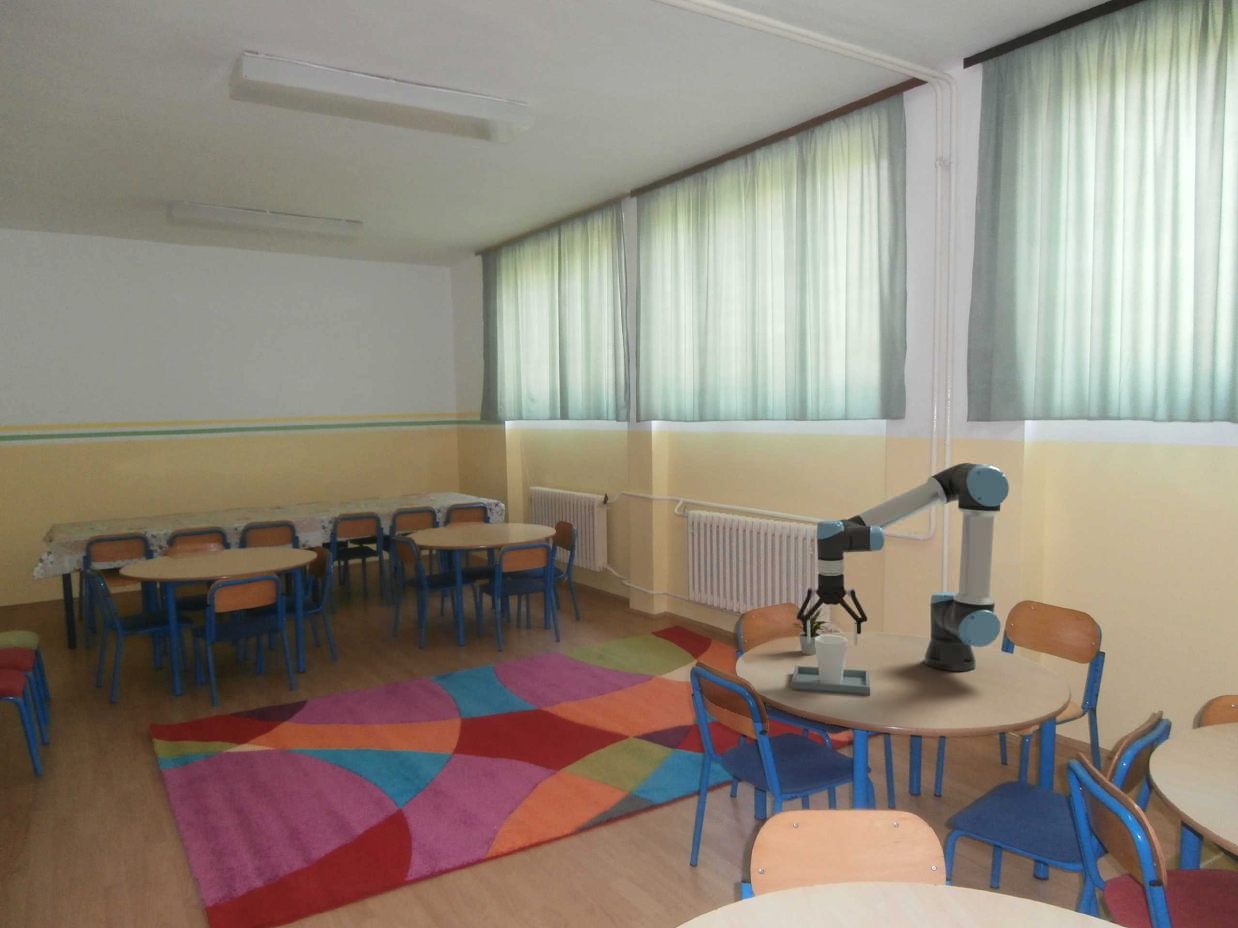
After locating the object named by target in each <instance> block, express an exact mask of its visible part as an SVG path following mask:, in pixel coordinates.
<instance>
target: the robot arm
mask: <svg viewBox="0 0 1238 928" xmlns="http://www.w3.org/2000/svg"><path fill="white" fill-rule="evenodd" d="M1009 491H1010V483H1009V481H1008V478H1007V476H1006V474H1004V472H1002V470H1000V469H999V468H997V467H995V466H993V465H992V466H991V465H988V464H977V463H969V462H965V463H964V462H963V463H958V464H955V465H953V466H950V467H948V468H946V469H944V470H942V471H940V472H937V473H935V474H934V475H931V476H929V477H928V478H927V481H926V482H924V483H922V484H920V485H918V486H916V487H913V488H911V489H909V490H908V491H906V492H903V493H902V494H899V495H897V496H895V497H893V498H890V499H888V500H886V501H884V502H882V503H879V504H878V505H876V506H874V507H872V508H870V509H868V510H866V511H863V512H861V513H859V514H857V515H854V516H852V517H850V518H848V519H845V518H843V519H838V520H831V519H829V520H821V521H819V522H818V523H817V524H816V525H817V526H816V545H817V546H816V549H817V550H816V551H817V559H816V560H817V572H818V574H817V588H816V589H814V588H812V587H809V588H807V592H806V597H805V599H804V601H803V603H802V605H801V607H800V608H799V610H798V611H799V612H798V614H797V615H796V619H797V620H800V621H801V620H802V621H803V625H802V628H803V629H802V632H807V644H810V620H808V619H809V618H810V619H811V616H812V615H813V616H814V614H815V613H816V612H817V611H818V610H819V609H820V607H821V606H822V604H825V605H828V606H829V605H833V606H837V605H838V604H839V605H840V606H841V607H842V608H843V609H844V610H845V611H846V612H847V613H848V614H849V616H850V617H851V618H852V619H853V621H854V622H853V624H854V625H853V626H854V627H853V629H854V635H853V636H854V646H856V647H857V646H858V635H861V634H862V623H864V622H867V621H868V616H867V615H866V613H865V611H864V608H863V607H862V605H861V603H860V601H859V600H858V598H857V595H856V589H854V588H851V589H848V590H846V589H845V575H844V570H845V569H844V568H845V566H844V565H845V564H844V563H845V562H844V557H845V556H844V554H845V553H858V552H859V553H863V552H865V553H866V552H869V553H872V552H878V551H879V552H880V551H881V550H883V548H884V545H885V534H884V531H883V530H885V529H887V528H890V527H892V526H894V525H897V524H898V523H900V522H903V521H905V520H907V519H910V518H911V517H913V516H915V515H917V514H920V513H921V512H924V511H926V510H928V509H930V508H933V507H934V506H937V505H941V506H945V505H947V504H948V503H951V502H957V503H958V504H957V505H958V506H957V509H958V510H959V511H960V512H961V514H962V524H961V525H962V527H961V544H960V545H961V547H960V560H959V561H960V565H959V578H958V580H959V581H958V582H959V584H958V591H957V592H956V591H955V592H949V591H948V592H935V593H933V594H932V595H931V597H930V603H929V606H930V640H929V643H928V645H927V648H926V652H925V653H924V664H926V665H927V666H928V667H931V668H933V669H937V670H941V671H949V672H966V671H972V670H974V669H975V668H977V667H976V664H977V663H976V661H977V660H976V657H975V653H974V651H973V648H972V647H974V648H975V647H976V648H983V647H987V646H990V644H992V643H993V642H994V641H996V639H998V637H999V635H1000V633H1001V627H1002V626H1001V625H1002V624H1001V621H1000V618H999V616H998V615H997V614H996V613H995V605H996V604H995V600H994V599H993V598H992V597H991V595H990V594H991V593H990V592H991V575H992V574H991V573H992V558H993V557H992V556H993V540H994V527H995V525H994V522H995V516H996V515H997V514H999V513H1000V512H1001V505H1002V503H1003V502H1004V501H1005V500H1006V499H1007V497H1008V494H1009ZM815 594H816V595H817V597H818V600H817V601H816V602H815V603H814V604H813V606H812V607H810V610H809V609H808V610H809V611H808V612H807V611H806V610H807V606H808V605H809V603H810V600H811V598H812V597H814V596H815ZM846 595H847V596H848V598H851V600H852V602H853V605H854V606H855V608H856V610H857V612H858V613H859V615H860V617H859V615H858V614H857V613H856V612H855V611H854V610H853V608H852V607H851V606H850V605H849V604H848V602H846V600H845V599H844V598H845V596H846ZM818 608H819V609H818ZM817 609H818V610H817ZM816 610H817V611H816ZM805 611H806V614H804V615H805V616H803V613H805ZM815 611H816V612H815ZM814 612H815V613H814ZM813 613H814V614H813ZM813 616H812V617H813ZM973 668H974V669H973ZM971 669H972V670H971Z"/></svg>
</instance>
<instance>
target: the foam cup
mask: <svg viewBox="0 0 1238 928" xmlns="http://www.w3.org/2000/svg"><path fill="white" fill-rule="evenodd" d="M815 647H816V654H815V655H816V661H817V667H818V669H819V676H820V682H821V683H834V684H842V678H843V671H844V669H845V661H846V656H847V655H846V654H847V649H848V639H847V638H846V637H843V636H840V635H834V634H823V635H820V636H817V637H815Z"/></svg>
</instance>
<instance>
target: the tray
mask: <svg viewBox="0 0 1238 928" xmlns="http://www.w3.org/2000/svg"><path fill="white" fill-rule="evenodd" d="M870 682H871V681H870V670H869V669H855V668H844V671H843V678H842V684H834V683H821V682H820V676H819V669H818V666H809V665H794V671H793V675H792V679H791V691H801V692H814V693H815V692H817V693H828V694H829V693H831V694H842V695H843V694H844V695H857V696H871V686H870V685H871V683H870Z"/></svg>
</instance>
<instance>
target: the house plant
mask: <svg viewBox="0 0 1238 928" xmlns="http://www.w3.org/2000/svg"><path fill="white" fill-rule="evenodd" d="M811 606H812V604H810V605H809V608H806V613H807V612H808V611H809V610H810V609H811V608H812V607H811ZM823 608H824V607H822V608H820V607H819V608H818V609H817V610H816V611H815V612H814V613H813V615H812V616H811V617H810V618H809V619H808V620H810V644H807V632H804V631H802V632H799V634H798V636H799V642H800V648H801V653H802V654H803V655H808V656H813V655H814V656H815V655H817V654H816V647H815V637H817V636H821V633H818V630H820V631H822V632H824V629H826V630H827V631H828V627H827V626H825V625H823V624H826V623H828V624H829V622H828V621H824V620H819V621H818V619H820V618H821V617H822V615H820V614H821V612H822V610H823ZM789 611H791V612H792V610H791V609H789ZM799 611H800V610H798V609H796V610H794V611H793V613H794V614H795V615H796V616H797V615H798V613H799ZM804 613H805V612H804ZM804 613H803V616H805V615H806V614H804ZM825 614H827V612H824V615H825ZM800 622H801V624H802V626H801V625H800V624H798V623H795V622H794V623H792V624H791V626H792V627H793V628H800V629H801V630H803V621H802V620H800ZM823 628H824V629H823Z"/></svg>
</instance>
